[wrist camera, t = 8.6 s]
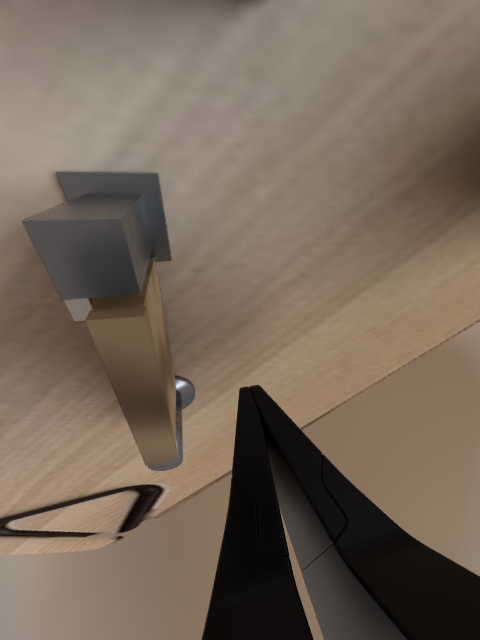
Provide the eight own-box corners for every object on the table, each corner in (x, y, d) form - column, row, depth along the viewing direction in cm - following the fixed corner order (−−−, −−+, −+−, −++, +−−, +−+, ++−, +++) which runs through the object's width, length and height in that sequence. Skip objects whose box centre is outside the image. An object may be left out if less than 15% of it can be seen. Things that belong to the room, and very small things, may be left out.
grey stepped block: (158, 173, 10) (144, 186, 6) (173, 269, 13) (171, 325, 9) (60, 171, 10) (-37, 185, 5) (97, 274, 12) (54, 338, 8)
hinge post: (191, 371, 18) (196, 438, 14) (196, 404, 21) (201, 469, 17) (134, 380, 17) (119, 454, 13) (146, 412, 20) (137, 484, 16)
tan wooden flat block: (177, 383, 18) (177, 459, 14) (153, 386, 18) (145, 465, 13) (156, 255, 12) (144, 316, 8) (120, 256, 12) (84, 320, 7)
